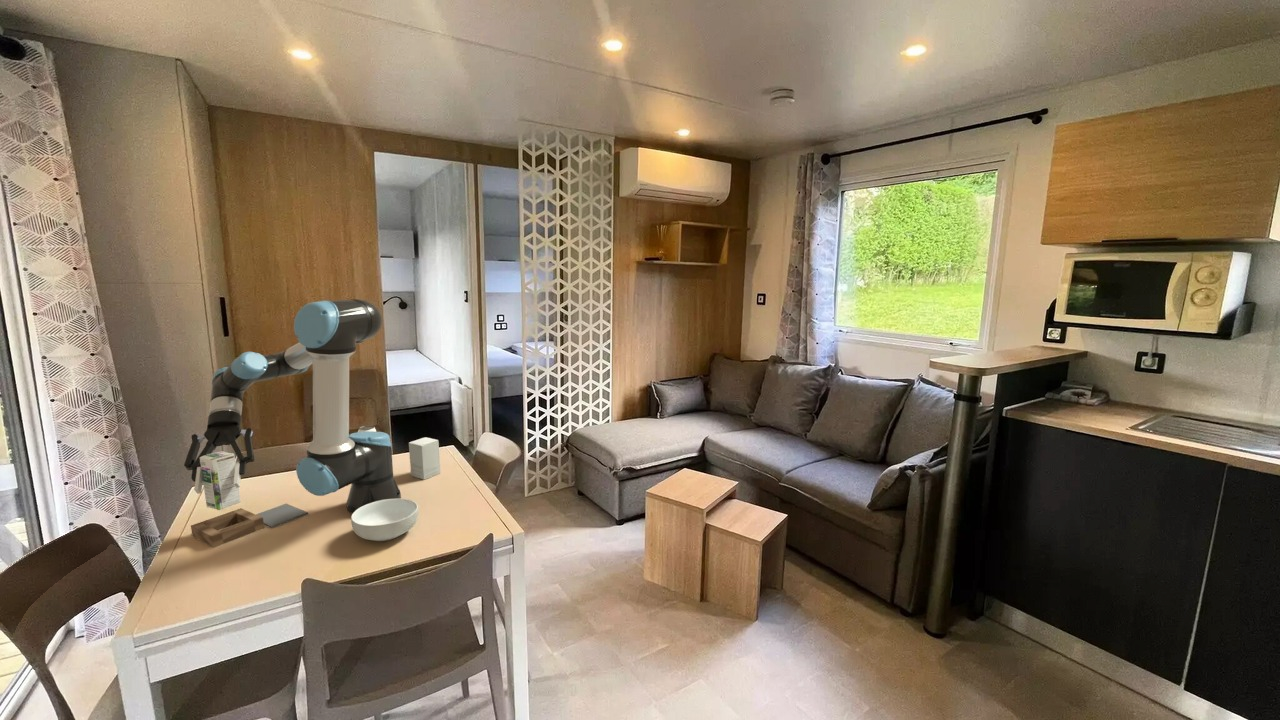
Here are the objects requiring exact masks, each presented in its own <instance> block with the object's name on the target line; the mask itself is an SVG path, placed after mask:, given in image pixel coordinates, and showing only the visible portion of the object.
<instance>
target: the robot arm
mask: <svg viewBox="0 0 1280 720" xmlns="http://www.w3.org/2000/svg"><path fill="white" fill-rule="evenodd" d="M382 316H383V315H382V312H381V311H380V310H379V308H378V306H376V305H375V304H373V303H372V302H370V301H368V300H365V299H359V298H358V299H357V298H356V299H355V298H353V299H337V300H336V299H335V300H334V299H333V300H324V299H323V300H319V301H311V302H309V303H306V304H305V305H303V306H302V307H301V308H300V309H299V310H298V311H297V313H296V315H295V318H294V321H293V322H294V323H293V330H294V335H295V336H296V337H297V341H298V343H295V344H294V345H292V346H290V347H288V348H287V349H285V350H283V351H281V352H276V353H270V354H263V355H262V354H261V353H258V352H253V351H245V352H243V353H241V354H240V355H238V356H237V357H236V358H235V359H234V360H233V361H232V362H231V363H230V365H229V366H225V367H222V368H219V369H217V370H215V372H214V374H213V378H212V380H211V394H210V402H209V410H208V416H207V424H206V425H207V426H206V430H205V431H204V433H201V434H195V433H194V434H191V444H190V447H189V450H188V453H187V455H186V459H185V461H184V464H183V466H184V467H185V469H186V470H187V471H191V480H192V482H194V489H193V490H194V491H195V493H197V494H202V490H203V478H202V471H201V464H200V457H202V456H204V455H207V454H211V453H214V452H213V451H215V450H216V449H217V447H222V446H230V445H231V448H232V449H233V452H234V454H235V455H236V457H237V458H238V461H235V475H234V485H235V486H236V488H239V489H240V487H241V478H242V476H244V475H245V474H246V470H247V465H248V463H253V462H254V461H255V453H254V447H253V440H252V439H253V436H254V432H253V430H252V428H248V427H247V428H246V429H242V427H241V425H242V413H243V401H244V394H245V392H246V390H248V389H249V388H250V387H251V386H252V385H253V384H254V383H257V382H262V381H269V380H273V379H276V378H282V377H287V376H293V375H294V376H296V375H299V374H302V373H304V372H306V371H308V369H309V367H310V366H311V365H312V435H313V436H312V437H313V439H312V440H311V441H310V443H309V442H308V444H307V446H306V457H303V458H302V459H300V460H299V462H297V465H296V467H295V468H296V469H295V470H296V476H297V479H298V482H299V483H300V484H301V486H302V487H303V488H304V489H305V490H306V491H307V492H308V493H310V494H311V495H314V496H318V497H319V496H320V497H323V496H327V495H329V494H331V493H337V491H339V490H341V489H343V488H345V487H348V486H349V485H350V489H349V491H348V495H347V499H346V509H347V512H348V513H350V514H351V515H352V514H353V513H354V512H355V511H356V510H357V509H358V508H360V507H362V506H364V505H367V504H369V503H372V502H376V501H380V500H386V499H402V492H401V490H400V488H399V486H398V484H397V482H396V480H395V478H394V469H393V468H394V467H393V453H392V452H393V451H392V446H393V445H392V443H391V438H390V437H391V436H390V435H389V434H388V433H386V432H383V431H376V432H375V431H369V432H358V431H357V432H353V433H349V432H350V358H351V356H353V355H354V354H355V353H356V351H357V350H356V349H357V344H361V343H363V342H365V341H367V340H370V339H373V338H374V337H375V336H376V335H378V333H380V331H381V329H382V326H383V317H382ZM241 435H242V436H243V438H244V443H245V449H246V450H245V451H246V456H244V454H243V453H242V451H241V449H240V447H239V446H238V443H237V442H236V441H237V439H238V438H239V437H240V436H241ZM205 439H206V440H207V441H206V443H205V446H204V447H203V449H202V451H201V452H200V454H199V451H200V448H201V444H202V443H203V441H204V440H205ZM198 454H199V455H198Z"/></svg>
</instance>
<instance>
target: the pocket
mask: <svg viewBox="0 0 1280 720" xmlns="http://www.w3.org/2000/svg"><path fill="white" fill-rule="evenodd" d="M256 514H257V513H252V511H249V510H246V509H244V508H238V509H235V510H233V511H230V512H226V513H223V514H220V515H218V516H214V517H211V518H209V519H205V520H203V521H200V522H196V523H193V524H191V525H190V529H191V535H192V538H194V539H197V540H198V541H200V542H202V543H204V544H205V545H207V546H210V547H211V548H213V549H214V548H217V547H220V546H222V545H224V544H228V543H230V542H232V541H235V540H238V539H239V538H243V537H246V536H248V535H250V534H253V533H256V532H259V531H261V530H263V529H265V525H264V522H263V518H262V517H260V516H258V515H256Z"/></svg>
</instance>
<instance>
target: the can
mask: <svg viewBox="0 0 1280 720" xmlns="http://www.w3.org/2000/svg"><path fill="white" fill-rule="evenodd" d="M369 431H375V432H377V429H376V426H375V425H363V426H359V427H358V431H357V432H369Z"/></svg>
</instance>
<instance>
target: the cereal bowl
mask: <svg viewBox="0 0 1280 720" xmlns="http://www.w3.org/2000/svg"><path fill="white" fill-rule="evenodd" d="M418 517H419V506H418V504H417V502H416V501H414V500H412V499H407V498H401V499H386V500H380V501H376V502H372V503H369V504H367V505H364V506H362V507H360V508H358V509H357V510H356V511H355V512H354V513H353V514H352V513H351V517H350V522H351V523H350V524H351V527H352V530H353V532H354V533H355V534H356V535H357V536H359V537H360V538H362V539H364V540H368V541H369V540H370V541H376V542H387V541H390V540H394V539H395V538H397V537H399V536H401V535H403V534H405V533H407V532H408V531H410V530H411V529H412V528H413V527H414V525H415V524H416V523H417V520H418Z"/></svg>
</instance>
